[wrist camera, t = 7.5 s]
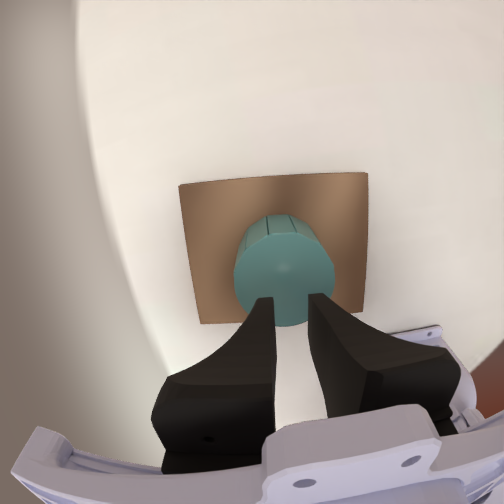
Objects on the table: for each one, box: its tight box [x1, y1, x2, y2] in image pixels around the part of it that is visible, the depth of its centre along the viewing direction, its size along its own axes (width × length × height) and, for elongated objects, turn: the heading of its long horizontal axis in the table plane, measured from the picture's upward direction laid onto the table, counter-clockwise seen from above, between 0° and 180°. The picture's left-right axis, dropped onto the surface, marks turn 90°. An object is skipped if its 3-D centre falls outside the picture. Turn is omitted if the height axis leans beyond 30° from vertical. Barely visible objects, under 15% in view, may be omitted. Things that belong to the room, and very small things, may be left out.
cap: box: [233, 214, 335, 327], centre depth 17 cm, size 5×5×4 cm
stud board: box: [178, 172, 368, 324], centre depth 18 cm, size 12×10×4 cm
